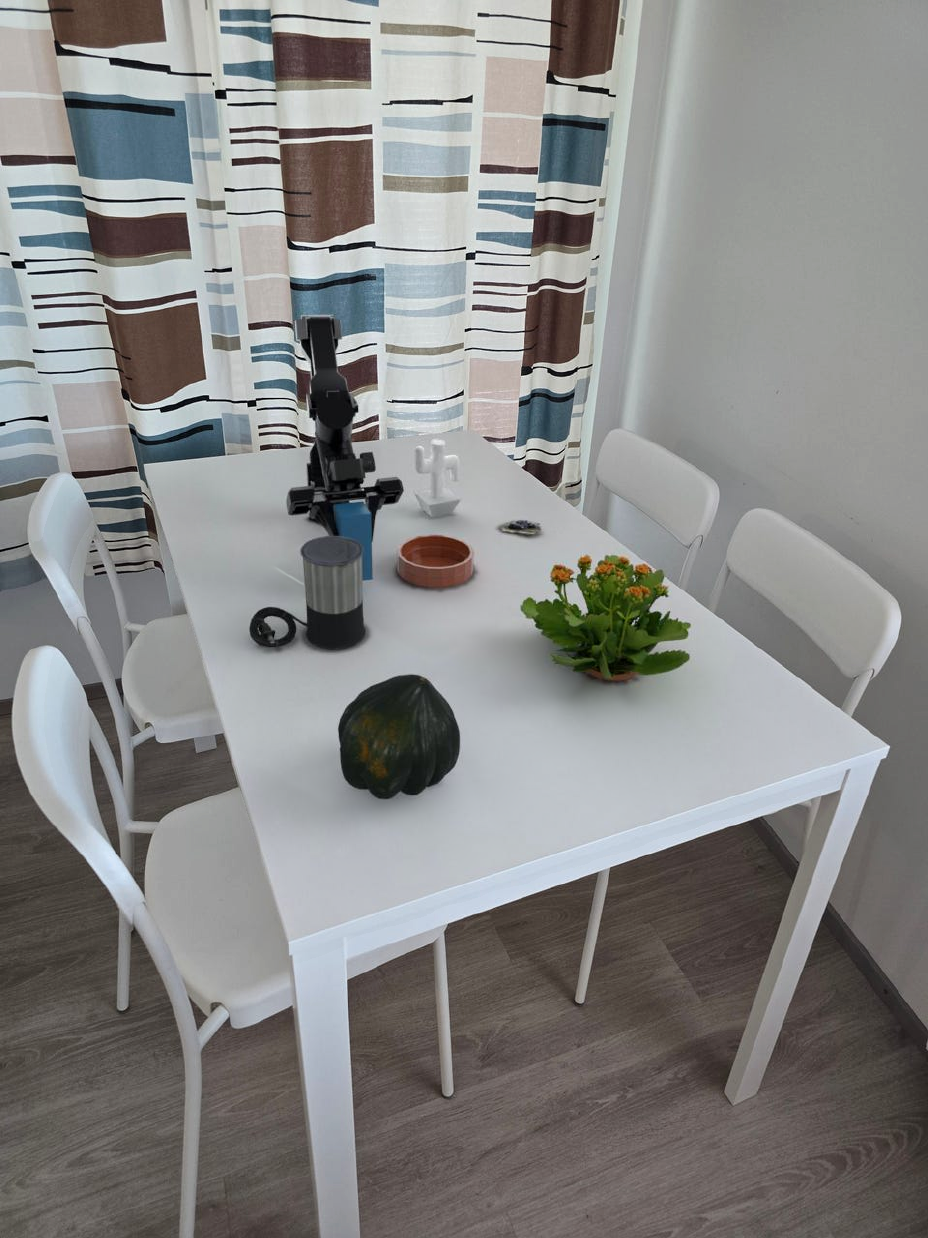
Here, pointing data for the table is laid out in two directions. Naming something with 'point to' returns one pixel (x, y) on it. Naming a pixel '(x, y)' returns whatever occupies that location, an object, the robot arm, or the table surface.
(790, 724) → the table surface
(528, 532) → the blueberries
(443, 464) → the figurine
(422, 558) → the terracotta bowl
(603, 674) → the potted flower
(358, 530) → the blue rectangular block
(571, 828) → the table surface
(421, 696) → the squash
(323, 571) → the milk frother
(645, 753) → the table surface
